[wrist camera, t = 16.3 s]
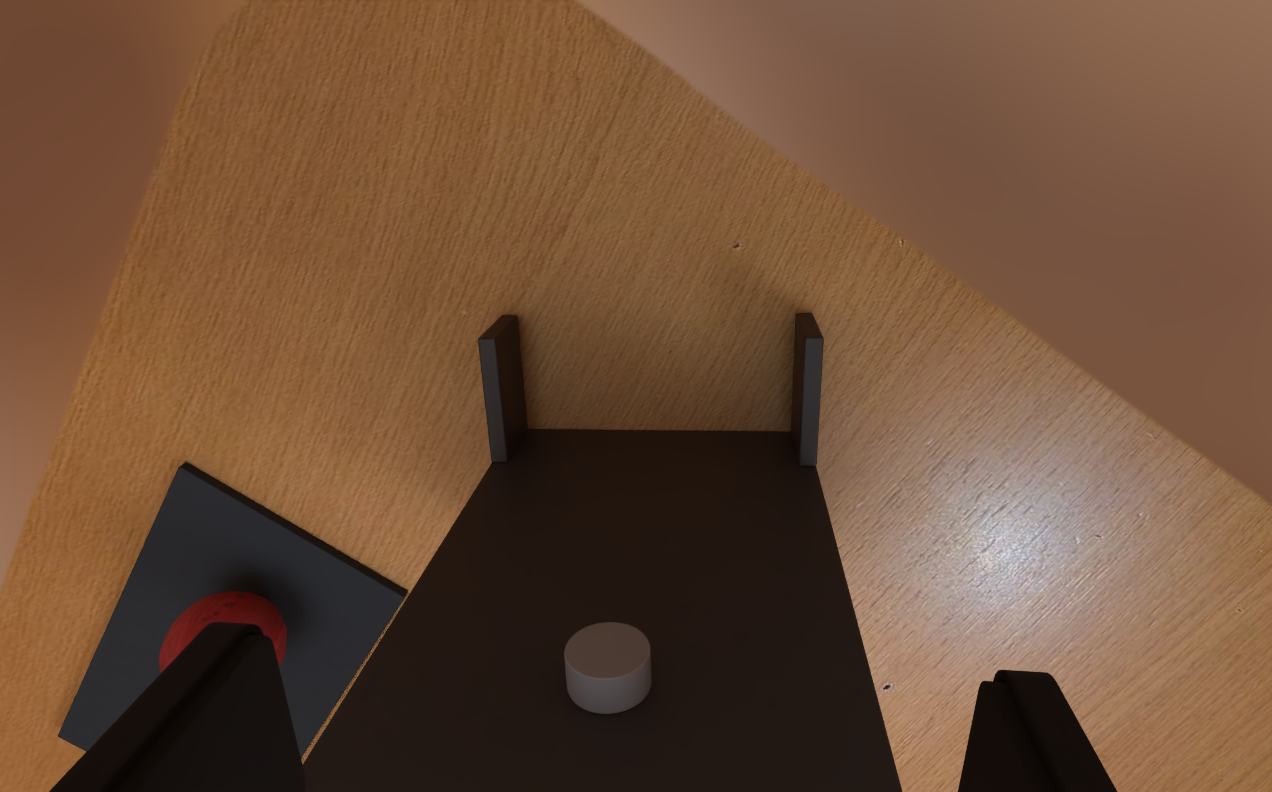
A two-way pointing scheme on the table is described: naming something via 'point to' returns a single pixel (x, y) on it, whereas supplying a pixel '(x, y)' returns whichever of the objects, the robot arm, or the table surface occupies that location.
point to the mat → (235, 561)
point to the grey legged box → (623, 620)
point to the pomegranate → (224, 610)
